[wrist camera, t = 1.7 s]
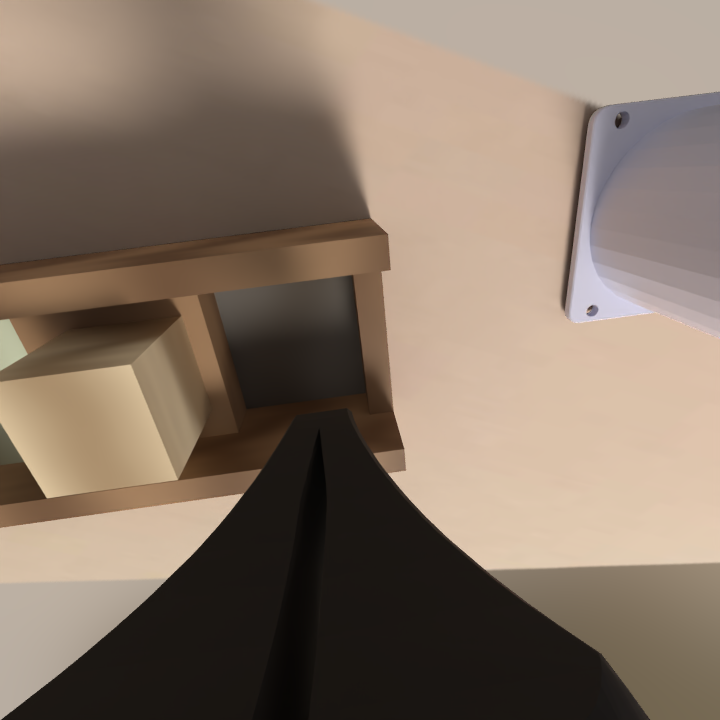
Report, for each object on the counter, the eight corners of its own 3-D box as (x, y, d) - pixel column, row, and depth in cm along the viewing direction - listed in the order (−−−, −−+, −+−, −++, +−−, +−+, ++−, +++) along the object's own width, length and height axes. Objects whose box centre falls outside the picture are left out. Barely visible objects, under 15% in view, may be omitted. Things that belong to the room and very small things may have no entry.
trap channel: (370, 218, 15) (387, 233, 11) (388, 406, 19) (405, 470, 14) (-332, 306, 14) (-594, 358, 10) (-170, 482, 18) (-314, 571, 14)
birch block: (181, 315, 14) (130, 364, 10) (212, 409, 16) (177, 480, 12) (68, 330, 14) (-24, 384, 10) (111, 423, 15) (46, 498, 12)
